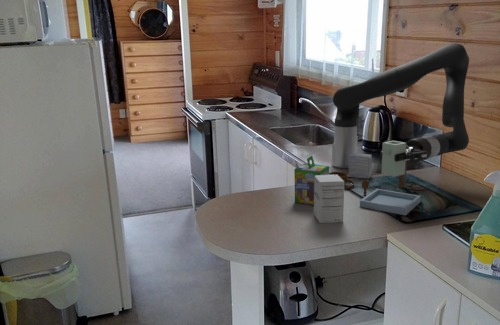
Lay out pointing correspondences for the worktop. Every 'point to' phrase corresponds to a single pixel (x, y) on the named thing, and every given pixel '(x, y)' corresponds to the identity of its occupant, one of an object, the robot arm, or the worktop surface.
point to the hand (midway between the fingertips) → (388, 156)
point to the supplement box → (328, 198)
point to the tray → (390, 201)
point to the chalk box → (307, 180)
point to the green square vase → (392, 158)
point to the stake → (402, 178)
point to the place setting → (345, 178)
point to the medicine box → (360, 165)
